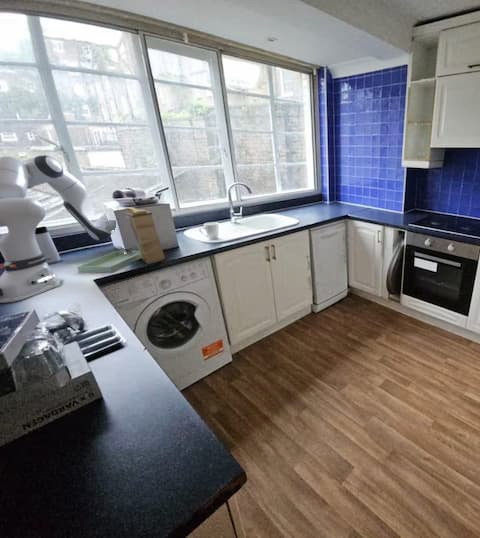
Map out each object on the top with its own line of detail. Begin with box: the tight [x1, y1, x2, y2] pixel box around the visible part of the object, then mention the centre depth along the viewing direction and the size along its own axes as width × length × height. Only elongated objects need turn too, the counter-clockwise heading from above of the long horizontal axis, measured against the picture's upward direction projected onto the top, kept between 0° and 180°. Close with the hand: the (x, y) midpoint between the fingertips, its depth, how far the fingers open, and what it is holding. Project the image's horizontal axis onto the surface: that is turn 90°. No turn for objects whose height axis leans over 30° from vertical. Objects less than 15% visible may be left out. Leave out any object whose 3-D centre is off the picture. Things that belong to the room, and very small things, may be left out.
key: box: [125, 206, 148, 215], centre depth 153 cm, size 18×5×1 cm, turn 51°
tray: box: [76, 250, 142, 273], centre depth 156 cm, size 24×18×3 cm
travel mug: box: [35, 225, 62, 265], centre depth 157 cm, size 6×7×20 cm
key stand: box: [125, 210, 166, 265], centre depth 155 cm, size 11×9×26 cm
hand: (129, 216), depth 163 cm, fingers open, 8 cm apart
